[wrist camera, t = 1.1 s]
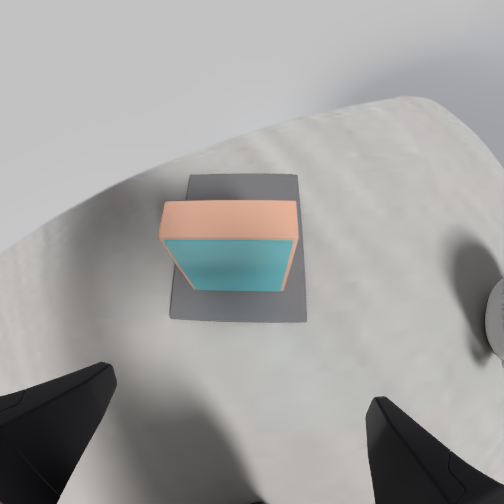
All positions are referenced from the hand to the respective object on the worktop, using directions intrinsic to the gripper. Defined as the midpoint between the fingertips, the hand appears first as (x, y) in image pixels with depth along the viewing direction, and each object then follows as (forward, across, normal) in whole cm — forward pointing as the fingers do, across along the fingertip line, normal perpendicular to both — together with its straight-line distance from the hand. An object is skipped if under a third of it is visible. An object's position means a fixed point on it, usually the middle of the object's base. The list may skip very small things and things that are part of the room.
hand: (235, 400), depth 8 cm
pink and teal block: (+17, +2, +2) cm, 17 cm away
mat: (+20, +3, -1) cm, 20 cm away
